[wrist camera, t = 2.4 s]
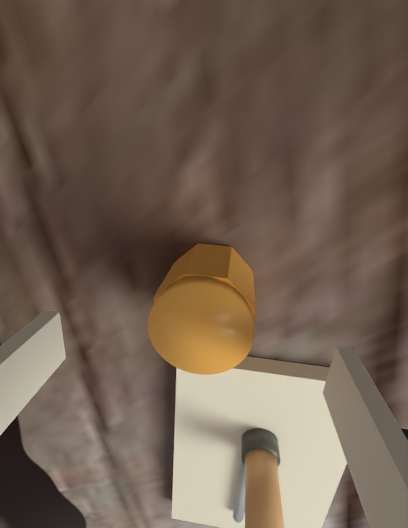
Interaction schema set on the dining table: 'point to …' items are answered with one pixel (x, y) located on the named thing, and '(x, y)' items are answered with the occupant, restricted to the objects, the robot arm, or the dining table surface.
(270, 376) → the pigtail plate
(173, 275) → the domed octagonal knob
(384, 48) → the dining table surface
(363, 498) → the robot arm
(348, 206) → the dining table surface
